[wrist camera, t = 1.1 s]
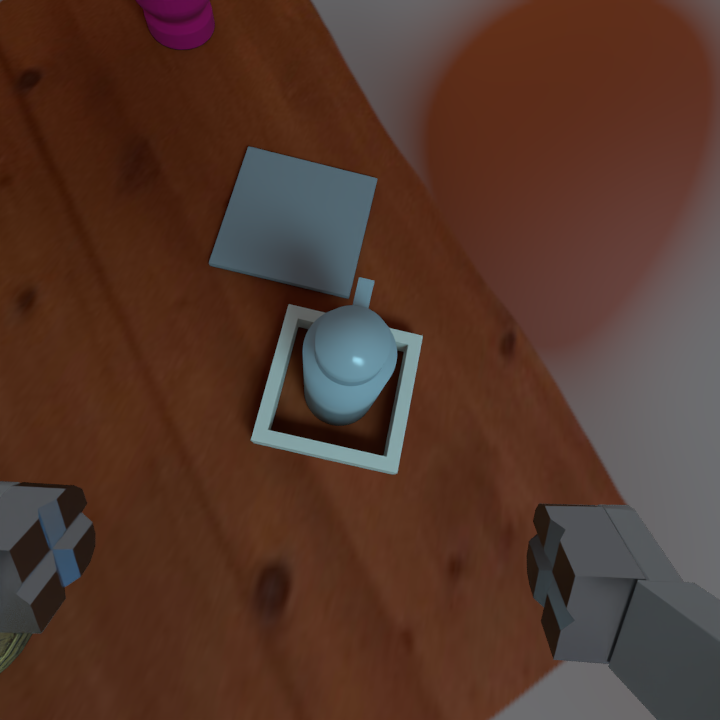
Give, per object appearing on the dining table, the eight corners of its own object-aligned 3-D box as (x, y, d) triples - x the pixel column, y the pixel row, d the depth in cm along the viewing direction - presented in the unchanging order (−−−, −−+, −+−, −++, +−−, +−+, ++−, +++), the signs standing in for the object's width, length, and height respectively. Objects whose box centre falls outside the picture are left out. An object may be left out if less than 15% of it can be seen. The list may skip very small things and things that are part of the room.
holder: (253, 443, 38) (250, 440, 36) (289, 313, 41) (288, 303, 39) (392, 474, 38) (397, 473, 36) (417, 343, 41) (422, 335, 39)
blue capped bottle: (296, 416, 38) (290, 377, 26) (320, 322, 41) (325, 245, 28) (365, 432, 39) (393, 401, 26) (385, 338, 41) (419, 268, 29)
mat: (209, 265, 41) (208, 262, 41) (249, 150, 45) (248, 146, 44) (348, 298, 42) (349, 296, 41) (376, 181, 45) (377, 178, 45)
